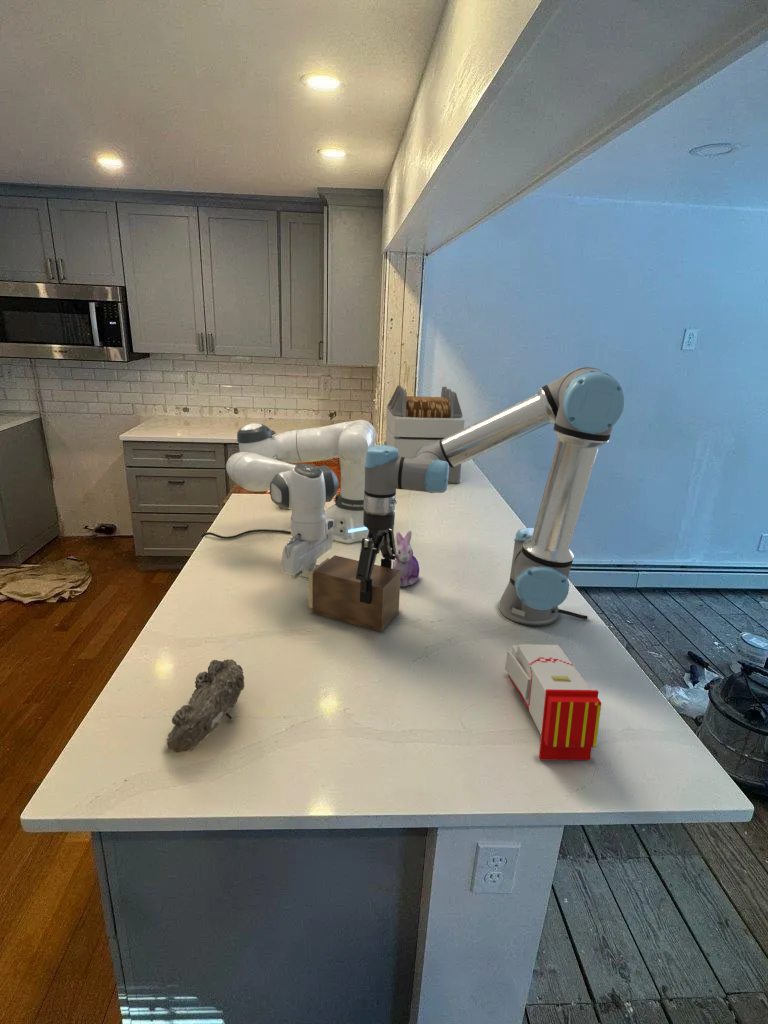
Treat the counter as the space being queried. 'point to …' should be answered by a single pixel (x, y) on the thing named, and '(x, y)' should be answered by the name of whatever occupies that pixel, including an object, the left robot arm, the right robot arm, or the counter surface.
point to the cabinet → (355, 593)
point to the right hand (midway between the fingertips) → (375, 592)
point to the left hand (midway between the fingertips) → (308, 576)
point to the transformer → (422, 423)
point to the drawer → (309, 581)
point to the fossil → (206, 705)
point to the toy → (556, 700)
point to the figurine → (406, 560)
